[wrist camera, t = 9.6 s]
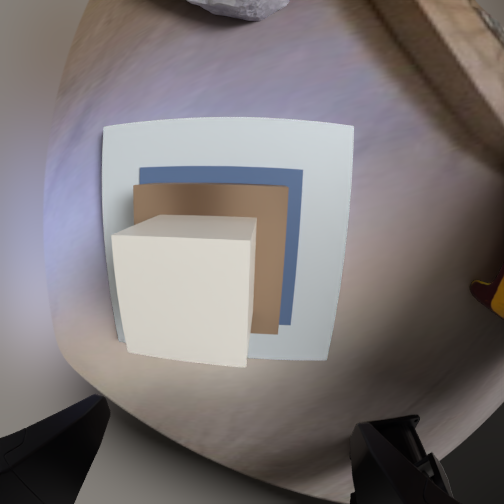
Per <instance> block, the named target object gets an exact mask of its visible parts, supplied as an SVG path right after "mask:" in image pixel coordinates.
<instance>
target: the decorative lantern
mask: <svg viewBox="0 0 504 504" xmlns="http://www.w3.org/2000/svg"><path fill="white" fill-rule="evenodd" d="M470 290H471V293H472V295H473V296H474V297H475V298H476V299H477V300H478V301H479V302H481V303H482V304H483V305H484V306H486V307H487V308H488V309H490V310H491V311H493V312H494V313H495V314H497V315H498V316H499V317H501V318H502V319H503V320H504V263H503V265H502V268H501V270H500V272H499V274H498V276H497V277H496V278H495V280H494V281H493V282H492V283H491V284H490V283H485V282H482V281H479V280H475V281H473V282H472V284H471V286H470Z"/></svg>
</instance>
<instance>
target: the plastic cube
mask: <svg viewBox="0 0 504 504" xmlns="http://www.w3.org/2000/svg"><path fill="white" fill-rule="evenodd" d="M256 224H257V218H254V217H229V216H196V215H158V216H155V217H153V218H150V219H148V220H145V221H143V222H141V223H138V224H136V225H133V226H131V227H129V228H126V229H124V230H122V231H119V232H117V233H115V234H113V235H111V239H112V251H113V262H114V271H115V279H116V287H117V294H118V301H119V308H120V314H121V320H122V325H123V331H124V336H125V341H126V346H127V351H128V352H129V353H134V354H139V355H145V356H151V357H157V358H164V359H170V360H178V361H185V362H193V363H202V364H211V365H221V366H233V367H246V365H247V357H248V348H249V340H250V332H251V323H252V315H253V299H254V274H255V249H256Z"/></svg>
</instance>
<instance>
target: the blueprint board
mask: <svg viewBox="0 0 504 504" xmlns="http://www.w3.org/2000/svg"><path fill="white" fill-rule="evenodd" d="M353 138H354V126H349V125H342V124H334V123H326V122H316V121H306V120H293V119H278V118H255V117H205V118H182V119H167V120H155V121H144V122H135V123H127V124H119V125H112V126H105V127H104V131H103V150H102V209H103V229H104V243H105V254H106V264H107V273H108V281H109V288H110V295H111V302H112V308H113V314H114V320H115V325H116V330H117V335H118V340H119V342H124V343H126V341H125V336H124V331H123V325H122V320H121V314H120V308H119V301H118V294H117V287H116V279H115V271H114V262H113V251H112V239H111V235H113V234H115V233H117V232H119V231H122V230H124V229H126V228H129V227H131V226H133V225H136V224H138V223H141V222H143V221H145V220H148V219H150V218H153V217H155V216H158V215H196V216H229V217H254V218H257V224H256V249H255V274H254V299H253V315H252V323H251V332H250V340H249V348H248V357H247V358H254V359H274V360H327V357H328V352H329V347H330V342H331V337H332V332H333V327H334V321H335V316H336V310H337V304H338V298H339V292H340V285H341V278H342V271H343V264H344V256H345V248H346V239H347V230H348V220H349V209H350V197H351V183H352V165H353Z"/></svg>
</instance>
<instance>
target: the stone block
mask: <svg viewBox="0 0 504 504" xmlns="http://www.w3.org/2000/svg"><path fill="white" fill-rule="evenodd" d="M187 1H188V2H190V3H192V4H195V5H198V6H201V7H202V8H203V9H205V10H208V11H209V12H211V13H212V14H215V15H224V16H229V17H233V18H239V19H243V20H247V21H261V20H263V19H265V18H267V17H268V16H269V15H271V14H273V13H274V12H276V11H278V10H280V9H282V8H283V7H285V6H286V5H287V3H288V2H289V1H290V0H187Z"/></svg>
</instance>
